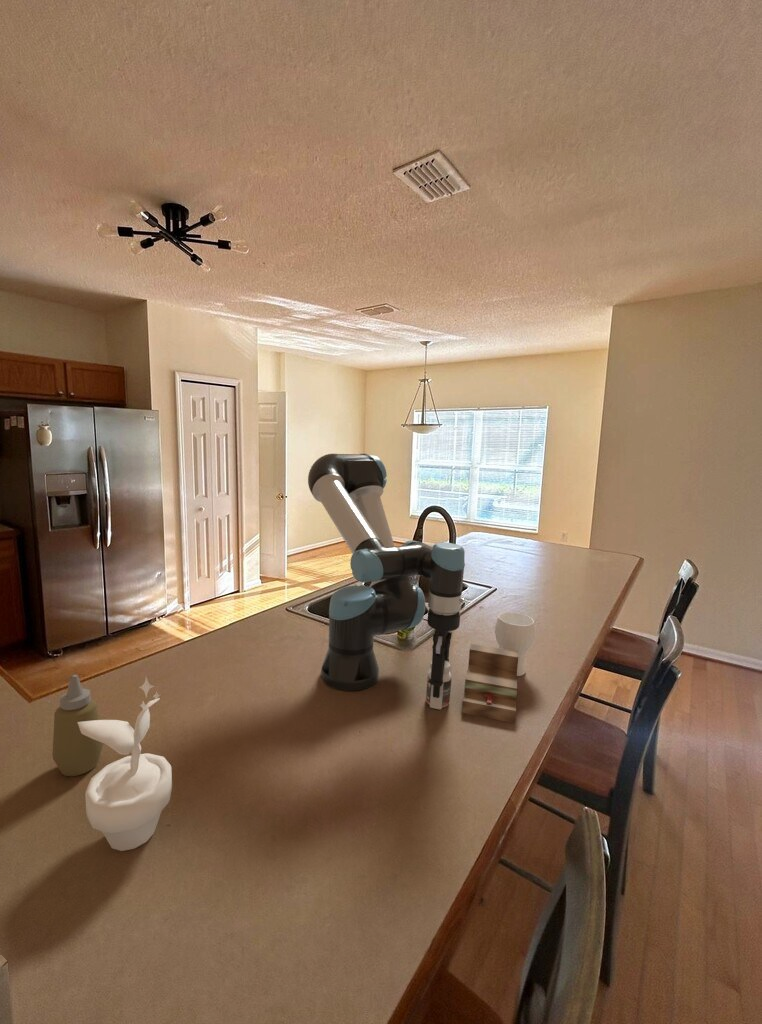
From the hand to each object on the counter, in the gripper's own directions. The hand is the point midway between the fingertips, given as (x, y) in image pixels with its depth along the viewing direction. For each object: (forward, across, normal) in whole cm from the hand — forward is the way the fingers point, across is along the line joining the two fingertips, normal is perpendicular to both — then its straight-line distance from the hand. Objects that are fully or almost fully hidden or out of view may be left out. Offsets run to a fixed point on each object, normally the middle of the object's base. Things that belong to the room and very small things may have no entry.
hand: (437, 700), depth 112 cm
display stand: (0, +6, -12) cm, 13 cm away
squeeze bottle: (+1, -44, +60) cm, 74 cm away
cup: (+1, +23, -17) cm, 29 cm away
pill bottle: (+1, 0, 0) cm, 1 cm away
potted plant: (+1, -53, +40) cm, 66 cm away
